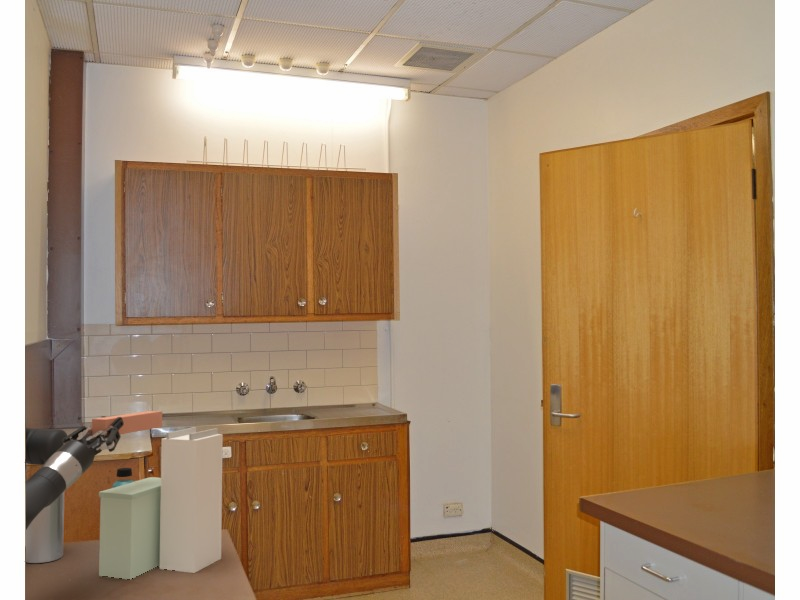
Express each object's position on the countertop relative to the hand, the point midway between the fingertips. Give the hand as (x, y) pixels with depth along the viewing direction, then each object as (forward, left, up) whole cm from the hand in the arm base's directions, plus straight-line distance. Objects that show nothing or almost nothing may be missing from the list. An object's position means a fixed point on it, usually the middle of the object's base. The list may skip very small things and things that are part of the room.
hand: (113, 419), depth 174 cm
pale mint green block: (0, +11, -38) cm, 39 cm away
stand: (+11, +17, -38) cm, 43 cm away
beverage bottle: (-20, +30, -38) cm, 52 cm away
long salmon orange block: (0, +6, -3) cm, 7 cm away
